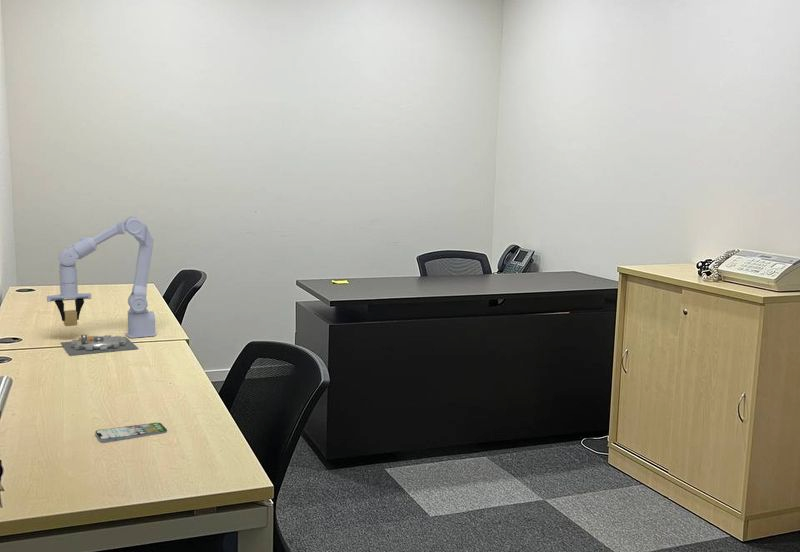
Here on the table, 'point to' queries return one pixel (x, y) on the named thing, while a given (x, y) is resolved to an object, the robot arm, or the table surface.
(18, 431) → the table surface
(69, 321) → the brushed gold block
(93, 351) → the plate
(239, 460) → the table surface
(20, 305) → the table surface
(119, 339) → the sprocket
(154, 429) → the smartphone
